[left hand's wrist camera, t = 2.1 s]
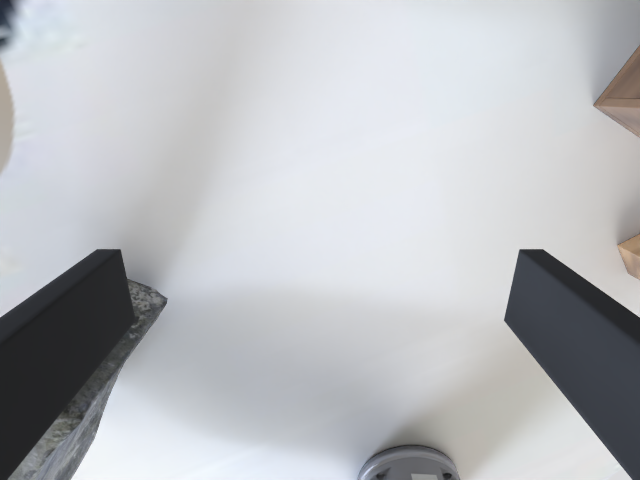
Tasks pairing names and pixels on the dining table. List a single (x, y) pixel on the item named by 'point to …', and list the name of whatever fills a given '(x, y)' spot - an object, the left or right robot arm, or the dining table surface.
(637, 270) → the block
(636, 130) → the chest
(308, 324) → the dining table surface
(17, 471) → the concrete block
